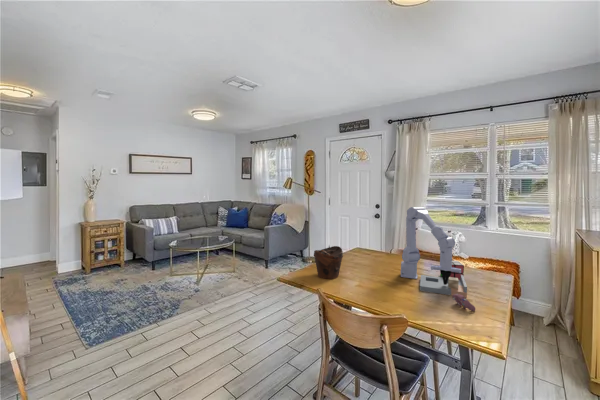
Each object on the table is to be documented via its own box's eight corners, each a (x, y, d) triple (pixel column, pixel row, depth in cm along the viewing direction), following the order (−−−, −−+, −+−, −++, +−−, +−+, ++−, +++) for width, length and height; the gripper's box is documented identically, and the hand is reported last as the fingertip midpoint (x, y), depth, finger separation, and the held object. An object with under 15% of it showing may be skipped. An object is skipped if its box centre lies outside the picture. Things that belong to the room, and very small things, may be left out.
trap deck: (419, 290, 151) (420, 280, 151) (420, 278, 169) (421, 269, 169) (466, 297, 142) (467, 287, 142) (462, 284, 160) (462, 275, 160)
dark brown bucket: (308, 279, 168) (309, 249, 167) (318, 269, 187) (319, 243, 186) (337, 283, 162) (338, 253, 161) (345, 273, 180) (346, 246, 179)
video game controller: (454, 305, 136) (449, 293, 136) (462, 301, 136) (457, 289, 136) (468, 315, 126) (462, 302, 126) (477, 310, 127) (471, 297, 126)
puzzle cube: (463, 281, 164) (464, 265, 164) (445, 280, 166) (445, 264, 166) (457, 276, 174) (458, 260, 174) (440, 275, 176) (440, 259, 176)
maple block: (448, 287, 148) (448, 279, 148) (448, 284, 153) (448, 276, 152) (458, 289, 147) (458, 280, 146) (457, 286, 151) (457, 278, 150)
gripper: (431, 259, 150) (430, 284, 151) (462, 263, 144) (461, 288, 144) (431, 256, 156) (430, 280, 157) (460, 259, 150) (459, 284, 151)
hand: (445, 284), depth 151 cm, fingers closed
